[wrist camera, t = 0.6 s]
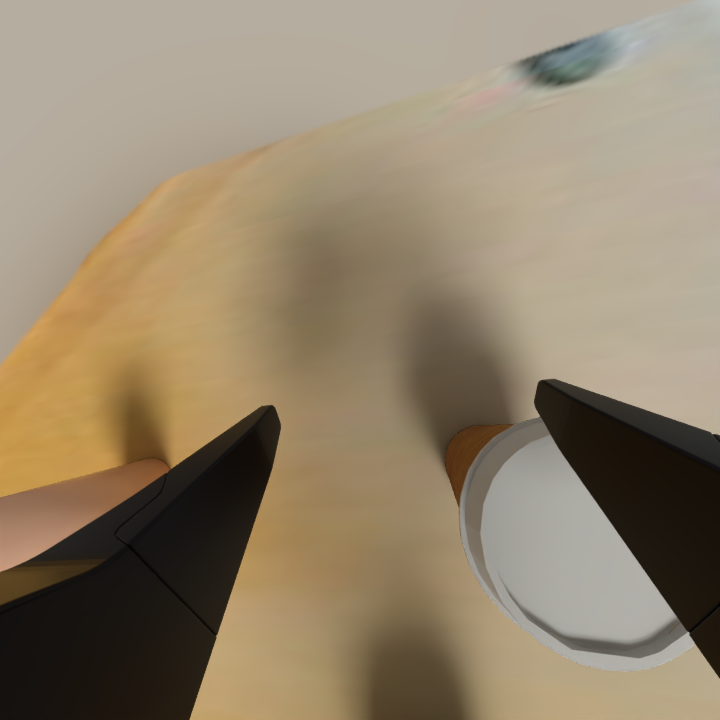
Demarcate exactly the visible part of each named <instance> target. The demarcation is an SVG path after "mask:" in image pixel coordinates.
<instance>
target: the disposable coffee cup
mask: <svg viewBox="0 0 720 720" xmlns="http://www.w3.org/2000/svg"><path fill="white" fill-rule="evenodd" d="M445 459H446V471H447V473H448V476H449V479H450V482H451V486H452V489H453V492H454V495H455V498H456V501H457V504H458V506H459V524H460V534H461V539H462V543H463V547H464V550H465V553H466V556H467V559H468V562H469V564H470V567H471V569H472V571H473V573H474V574H475V576H476V578H477V580H478V581H479V583H480V585H481V587H482V589H483V590H484V592H485V593H486V594H487V595H488V597H489V598H490V599H491V600H492V601H493V602H494V604H495V605H496V606H497V607H498V608H499V609H500V611H501V612H502V613H503V614H504V615H506V616H507V617H508V618H509V619H511V620H512V621H513V622H514V623H515V624H517V625H518V626H519V627H520V628H522V629H523V630H525V631H526V632H528V633H530V634H531V635H532V636H533V637H534V638H535V639H536V640H537V641H539V642H540V643H541V644H543V645H544V646H546V647H548V648H549V649H551V650H553V651H554V652H556V653H558V654H560V655H562V656H564V657H566V658H568V659H570V660H572V661H574V662H576V663H578V664H581V665H585V666H589V667H593V668H597V669H601V670H605V671H627V672H632V671H638V670H644V669H650V668H654V667H656V666H659V665H662V664H664V663H667V662H669V661H671V660H673V659H674V658H676V657H678V656H679V655H681V654H682V653H684V652H686V651H687V650H689V649H691V648H692V647H693V645H694V644H695V643H694V641H693V640H692V638H691V637H690V636H689V632H687V631H686V629H685V628H684V627H683V625H682V624H681V622H680V621H679V620H678V618H677V617H676V615H675V614H674V612H673V611H672V610H671V608H670V607H669V605H668V604H667V602H666V601H665V600H664V598H663V597H662V595H661V594H660V593H659V591H658V590H657V588H656V587H655V585H654V584H653V583H652V581H651V580H650V578H649V577H648V575H647V574H646V573H645V571H644V570H643V568H642V567H641V565H640V564H639V563H638V561H637V560H636V558H635V557H634V556H633V554H632V553H631V551H630V550H629V548H628V547H627V546H626V544H625V543H624V541H623V540H622V538H621V537H620V536H619V534H618V533H617V531H616V530H615V529H614V527H613V526H612V524H611V523H610V521H609V520H608V519H607V517H606V516H605V514H604V513H603V511H602V510H601V509H600V507H599V506H598V504H597V503H596V502H595V500H594V499H593V497H592V496H591V494H590V493H589V492H588V490H587V489H586V487H585V486H584V484H583V483H582V482H581V480H580V479H579V477H578V476H577V474H576V473H575V472H574V470H573V469H572V467H571V466H570V465H569V463H568V462H567V460H566V459H565V457H564V456H563V455H562V453H561V452H560V450H559V449H558V447H557V445H556V444H555V442H554V440H553V438H552V437H551V435H550V433H549V431H548V429H547V428H546V426H545V424H544V422H543V420H542V419H541V417H538V418H535V419H531V420H527V421H523V422H520V423H516V424H513V425H512V424H508V425H476V426H471V427H468V428H465V429H464V430H462V431H460V432H459V433H458V434H457V435H455V436H454V438H453V439H452V440H451V442H450V444H449V446H448V448H447V452H446V457H445Z"/></svg>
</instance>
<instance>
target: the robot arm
mask: <svg viewBox="0 0 720 720" xmlns="http://www.w3.org/2000/svg"><path fill="white" fill-rule="evenodd" d="M534 404H535V408H536V410H537V411H538V413H539V415H540V417H541V419H542V420H543V422H544V424H545V426H546V428H547V429H548V431H549V433H550V435H551V437H552V438H553V440H554V442H555V444H556V445H557V447H558V449H559V450H560V452H561V453H562V455H563V456H564V457H565V459H566V460H567V462H568V463H569V465H570V466H571V467H572V469H573V470H574V472H575V473H576V474H577V476H578V477H579V479H580V480H581V482H582V483H583V484H584V486H585V487H586V489H587V490H588V492H589V493H590V494H591V496H592V497H593V499H594V500H595V502H596V503H597V504H598V506H599V507H600V509H601V510H602V511H603V513H604V514H605V516H606V517H607V519H608V520H609V521H610V523H611V524H612V526H613V527H614V529H615V530H616V531H617V533H618V534H619V536H620V537H621V538H622V540H623V541H624V543H625V544H626V546H627V547H628V548H629V550H630V551H631V553H632V554H633V556H634V557H635V558H636V560H637V561H638V563H639V564H640V565H641V567H642V568H643V570H644V571H645V573H646V574H647V575H648V577H649V578H650V580H651V581H652V583H653V584H654V585H655V587H656V588H657V590H658V591H659V593H660V594H661V595H662V597H663V598H664V600H665V601H666V602H667V604H668V605H669V607H670V608H671V610H672V611H673V612H674V614H675V615H676V617H677V618H678V620H679V621H680V622H681V624H682V625H683V627H684V628H685V629H686V631H687V632H689V636H690V637H691V638H692V640H693V641H694V643H695V644H696V646H697V647H698V648H699V650H700V651H701V653H702V654H703V656H704V657H705V658H706V660H707V661H708V663H709V664H710V665H711V667H712V668H713V670H714V671H715V673H716V674H717V675H718V677H719V678H720V435H717V434H712V433H711V432H708V431H705V430H702V429H699V428H696V427H694V426H691V425H688V424H685V423H682V422H679V421H676V420H673V419H670V418H667V417H664V416H661V415H659V414H656V413H653V412H650V411H647V410H644V409H641V408H638V407H635V406H632V405H629V404H626V403H623V402H621V401H618V400H615V399H612V398H609V397H606V396H603V395H600V394H597V393H594V392H591V391H588V390H586V389H583V388H580V387H577V386H574V385H571V384H568V383H565V382H562V381H559V380H556V379H546V380H541V381H539V382H538V385H537V390H536V395H535V399H534ZM280 430H281V423H280V420H279V417H278V414H277V412H276V409H275V407H274V406H273V405H267V406H261V407H260V408H258V409H257V410H255V411H254V412H252V413H251V414H250V415H248V416H247V417H245V418H244V419H242V420H241V421H240V422H238V423H237V424H235V425H234V426H232V427H231V428H229V429H228V430H227V431H225V432H224V433H222V434H221V435H219V436H218V437H217V438H215V439H214V440H212V441H211V442H209V443H208V444H206V445H205V446H204V447H202V448H201V449H199V450H198V451H196V452H195V453H193V454H192V455H191V456H189V457H188V458H186V459H185V460H183V461H182V462H181V463H179V464H178V465H176V466H175V467H173V468H172V469H170V470H169V471H168V473H165V474H163V475H162V476H160V477H159V478H157V479H156V480H155V481H153V482H152V483H150V484H149V485H147V486H146V487H144V488H143V489H141V490H140V491H138V492H137V493H135V494H134V495H132V496H131V497H129V498H128V499H126V500H125V501H123V502H122V503H120V504H118V505H117V506H115V507H114V508H112V509H111V510H109V511H108V512H106V513H104V514H103V515H101V516H100V517H98V518H96V519H95V520H93V521H92V522H90V523H89V524H87V525H85V526H84V527H82V528H81V529H79V530H77V531H76V532H74V533H73V534H71V535H69V536H68V537H66V538H65V539H63V540H62V541H60V542H58V543H57V544H55V545H54V546H52V547H50V548H49V549H47V550H45V551H44V552H42V553H40V554H39V555H37V556H35V557H33V558H31V559H29V560H27V561H25V562H23V563H21V564H19V565H16V566H14V567H12V568H9V569H7V570H4V571H1V572H0V720H189V719H190V716H191V713H192V710H193V707H194V704H195V701H196V698H197V695H198V692H199V689H200V686H201V683H202V680H203V677H204V674H205V671H206V668H207V665H208V662H209V659H210V656H211V653H212V650H213V647H214V644H215V641H216V635H217V634H218V631H219V628H220V625H221V622H222V619H223V616H224V613H225V610H226V607H227V604H228V601H229V598H230V595H231V592H232V589H233V586H234V583H235V580H236V577H237V574H238V571H239V568H240V565H241V562H242V559H243V556H244V553H245V549H246V546H247V543H248V540H249V537H250V534H251V531H252V528H253V525H254V522H255V519H256V516H257V513H258V510H259V507H260V504H261V501H262V498H263V495H264V492H265V489H266V486H267V483H268V480H269V477H270V474H271V471H272V467H273V463H274V459H275V454H276V449H277V445H278V440H279V435H280Z"/></svg>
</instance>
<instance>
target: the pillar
mask: <svg viewBox="0 0 720 720" xmlns="http://www.w3.org/2000/svg"><path fill="white" fill-rule="evenodd" d="M169 470H170V468H169V467H168V466H167V465H166V464H165V463H164V462H163V461H161V460H159V459H155V458H149V459H145V460H141V461H137V462H134V463H130V464H126V465H122V466H118V467H115V468H111V469H107V470H103V471H99V472H96V473H92V474H88V475H84V476H80V477H77V478H73V479H69V480H65V481H61V482H58V483H54V484H50V485H46V486H42V487H39V488H35V489H31V490H27V491H23V492H20V493H16V494H12V495H8V496H4V497H1V498H0V572H1V571H4V570H7V569H9V568H12V567H14V566H16V565H19V564H21V563H23V562H25V561H27V560H29V559H31V558H33V557H35V556H37V555H39V554H40V553H42V552H44V551H45V550H47V549H49V548H50V547H52V546H54V545H55V544H57V543H58V542H60V541H62V540H63V539H65V538H66V537H68V536H69V535H71V534H73V533H74V532H76V531H77V530H79V529H81V528H82V527H84V526H85V525H87V524H89V523H90V522H92V521H93V520H95V519H96V518H98V517H100V516H101V515H103V514H104V513H106V512H108V511H109V510H111V509H112V508H114V507H115V506H117V505H118V504H120V503H122V502H123V501H125V500H126V499H128V498H129V497H131V496H132V495H134V494H135V493H137V492H138V491H140V490H141V489H143V488H144V487H146V486H147V485H149V484H150V483H152V482H153V481H155V480H156V479H157V478H159V477H160V476H162V475H163V474H165V473H168V471H169Z"/></svg>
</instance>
